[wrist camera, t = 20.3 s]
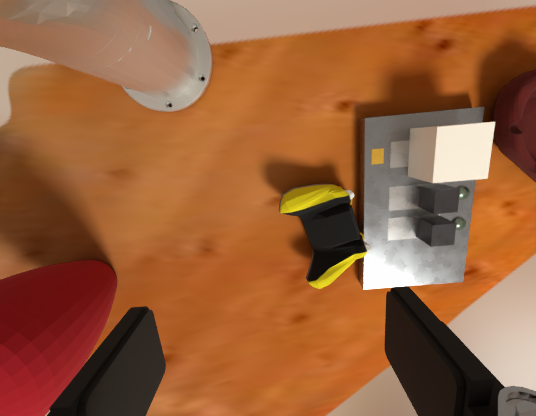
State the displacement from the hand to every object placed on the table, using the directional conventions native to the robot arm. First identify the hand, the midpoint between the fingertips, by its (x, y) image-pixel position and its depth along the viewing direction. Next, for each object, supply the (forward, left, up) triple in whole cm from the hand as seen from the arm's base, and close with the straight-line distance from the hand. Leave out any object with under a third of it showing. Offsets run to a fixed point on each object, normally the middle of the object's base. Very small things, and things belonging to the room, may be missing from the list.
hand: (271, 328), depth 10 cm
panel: (+4, +21, -28) cm, 35 cm away
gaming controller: (+6, +7, -29) cm, 30 cm away
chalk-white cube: (-4, +22, -26) cm, 34 cm away
